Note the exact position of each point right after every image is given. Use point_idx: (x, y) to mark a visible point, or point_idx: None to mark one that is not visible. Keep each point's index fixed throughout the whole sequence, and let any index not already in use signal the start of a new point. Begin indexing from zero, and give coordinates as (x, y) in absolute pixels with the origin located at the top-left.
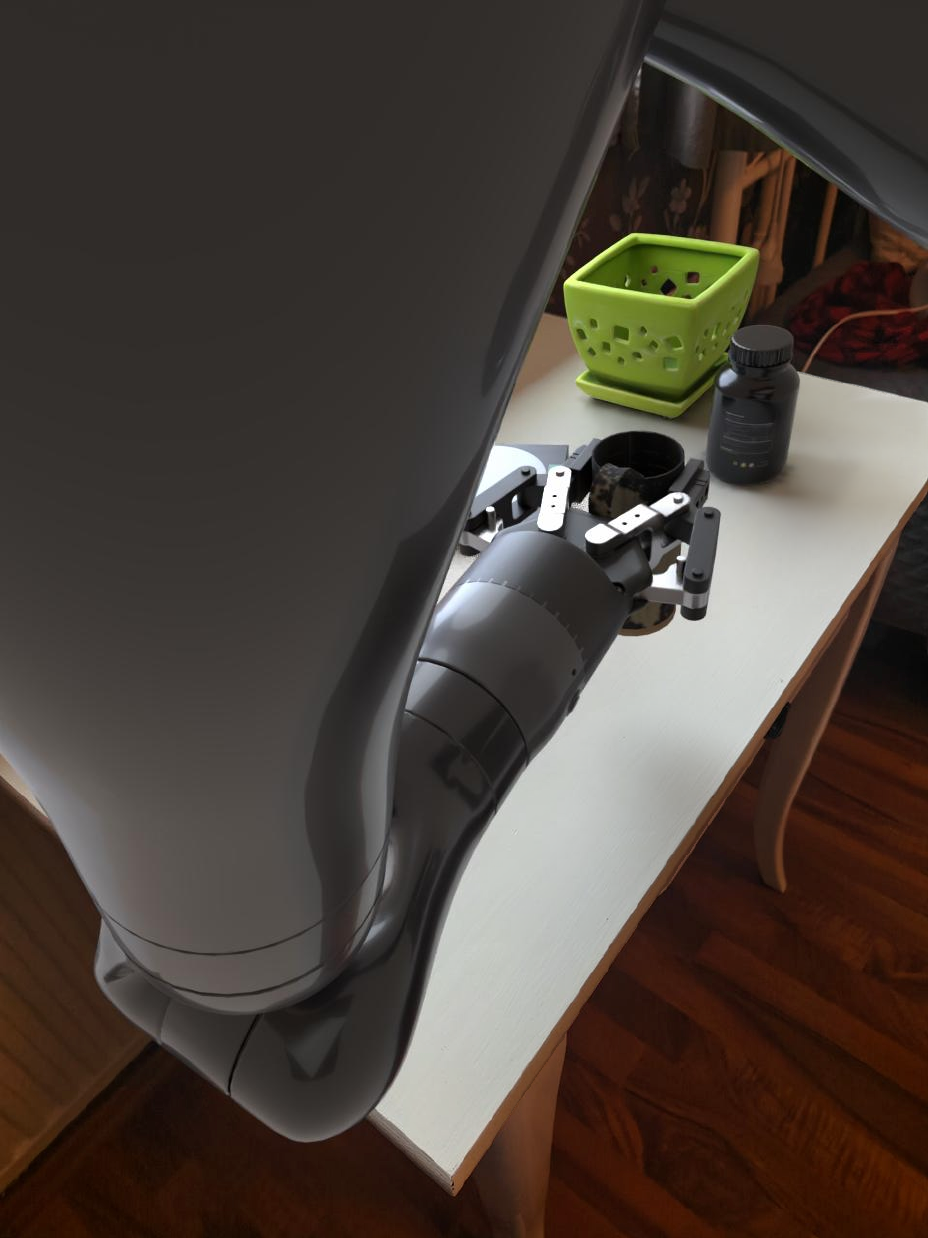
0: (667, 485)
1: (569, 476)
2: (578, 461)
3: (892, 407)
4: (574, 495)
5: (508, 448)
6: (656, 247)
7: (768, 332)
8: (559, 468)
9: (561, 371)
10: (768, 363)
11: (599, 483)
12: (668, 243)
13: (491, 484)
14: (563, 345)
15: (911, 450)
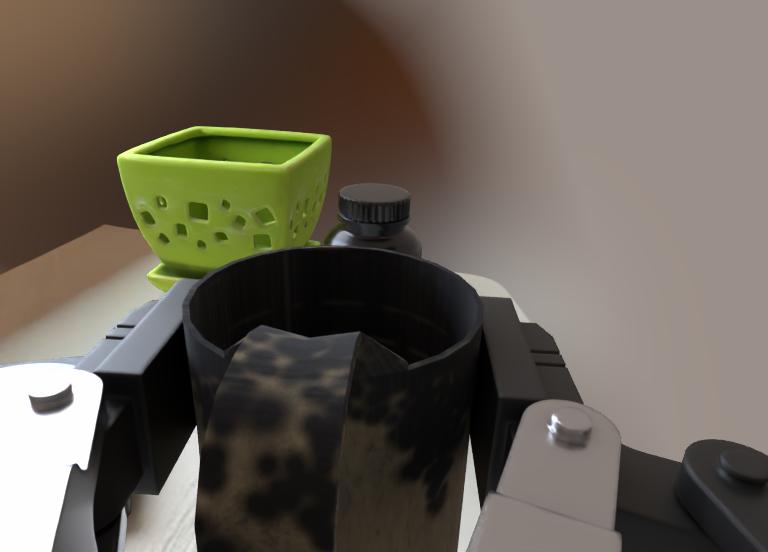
0: (466, 381)
1: (94, 406)
2: (134, 345)
3: (474, 277)
4: (131, 473)
5: (47, 365)
6: (223, 140)
7: (378, 188)
8: (48, 379)
9: (130, 272)
10: (390, 218)
11: (247, 425)
12: (236, 134)
13: None
14: (131, 249)
15: (516, 311)
